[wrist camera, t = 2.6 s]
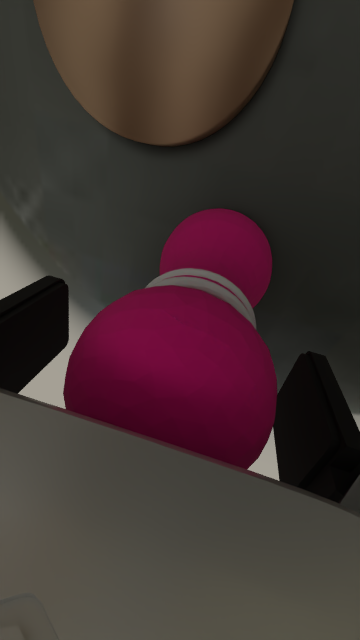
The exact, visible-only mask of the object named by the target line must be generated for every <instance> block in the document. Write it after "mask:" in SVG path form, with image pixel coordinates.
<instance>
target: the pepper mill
mask: <svg viewBox="0 0 360 640" xmlns="http://www.w3.org/2000/svg"><path fill="white" fill-rule="evenodd" d="M271 273H272V254H271V248H270V245H269V243H268V240H267V238H266V236H265V235H264V233H263V231H262V230H261V229H260V228H259V227H258V226H257V224H256V223H255V222H253V221H252V220H251V219H249V218H248V217H246V216H245V215H243V214H241V213H239V212H236V211H233V210H229V209H208V210H203V211H200V212H197V213H195V214H193V215H191V216H189V217H188V218H186V219H185V220H183V221H182V222H181V223H180V224H179V225H178V226H177V227H176V228H175V230H174V231H173V232H172V234H171V235H170V236H169V238H168V240H167V242H166V243H165V246H164V248H163V251H162V255H161V261H160V276H159V277H157V278H155V279H154V280H153V281H151V282H150V283H149V284H148V285H147V286H146V287H145V288H144V289H140V290H135V291H133V292H131V293H129V294H127V295H125V296H123V297H122V298H120V299H118V300H116V301H114V302H113V303H111V304H110V305H108V306H107V307H106V308H104V309H103V310H102V311H100V312H99V313H98V314H97V316H96V317H95V318H94V319H93V320H92V321H91V322H90V324H89V325H88V326H87V327H86V328H85V329H84V331H83V333H82V335H81V336H80V338H79V340H78V342H77V344H76V346H75V348H74V350H73V352H72V354H71V356H70V358H69V362H68V367H67V372H66V377H65V385H64V392H63V394H64V401H65V407H66V410H69V411H72V412H75V413H78V414H81V415H84V416H87V417H90V418H93V419H97V420H100V421H103V422H106V423H109V424H112V425H115V426H118V427H121V428H124V429H127V430H130V431H133V432H136V433H139V434H142V435H145V436H148V437H151V438H154V439H157V440H160V441H163V442H166V443H169V444H172V445H175V446H178V447H181V448H184V449H187V450H190V451H193V452H196V453H199V454H202V455H205V456H208V457H211V458H214V459H217V460H220V461H223V462H226V463H229V464H232V465H235V466H238V467H241V468H244V469H248V468H249V467H250V466H251V465H252V464H253V463H254V462H255V461H256V460H257V459H258V457H259V456H260V454H261V452H262V450H263V448H264V447H265V445H266V443H267V441H268V438H269V436H270V433H271V430H272V427H273V425H274V421H275V412H276V401H277V378H276V374H275V370H274V365H273V362H272V358H271V355H270V352H269V349H268V347H267V346H266V344H265V343H264V341H263V340H262V338H261V337H260V335H259V334H258V332H257V331H256V321H255V315H254V312H253V308H254V307H255V306H256V305H257V304H258V302H259V301H260V300H261V298H262V297H263V295H264V294H265V292H266V290H267V288H268V285H269V283H270V279H271Z"/></svg>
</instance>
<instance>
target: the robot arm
mask: <svg viewBox="0 0 360 640" xmlns="http://www.w3.org/2000/svg"><path fill="white" fill-rule="evenodd" d="M68 300H69V298H68V285H67V284H65V282H64V280H62V279H60V278H56V277H53V276H46V277H44V278H42V279H40V280H38V281H36V282H34V283H32V284H30V285H28V286H26V287H25V288H22V289H21V290H19V291H17V292H15V293H13V294H11V295H9V296H7V297H5V298H3V299H1V300H0V640H360V431H359V429H358V427H357V425H356V422H355V420H354V418H353V416H352V414H351V411H350V409H349V407H348V405H347V402H346V400H345V398H344V396H343V394H342V391H341V389H340V387H339V385H338V383H337V380H336V378H335V376H334V374H333V372H332V369H331V367H330V365H329V363H328V360H327V358H326V357H325V356H324V355H320V354H317V353H313V352H310V351H308V352H307V353H306V354H303V353H302V354H300V356H299V357H298V359H297V361H296V363H295V364H294V366H293V368H292V370H291V372H290V373H289V375H288V377H287V379H286V380H285V382H284V384H283V386H282V388H281V389H280V391H279V393H278V395H277V401H276V412H275V421H274V425H273V429H274V438H275V446H276V454H277V463H278V471H279V479H280V481H278V480H275V479H272V478H269V477H266V476H263V475H261V474H258V473H255V472H252V471H249V470H247V469H244V468H241V467H238V466H235V465H232V464H229V463H226V462H223V461H220V460H217V459H214V458H211V457H208V456H205V455H202V454H199V453H196V452H193V451H190V450H187V449H184V448H181V447H178V446H175V445H172V444H169V443H166V442H163V441H160V440H157V439H154V438H151V437H148V436H145V435H142V434H139V433H136V432H133V431H130V430H127V429H124V428H121V427H118V426H115V425H112V424H109V423H106V422H103V421H100V420H97V419H93V418H90V417H87V416H84V415H81V414H78V413H75V412H72V411H69V410H66V409H63V408H60V407H57V406H53V405H50V404H47V403H44V402H41V401H38V400H35V399H32V398H29V397H26V396H23V395H20V394H18V393H19V392H20V391H21V390H22V389H23V388H24V387H25V386H26V385H27V384H28V383H29V382H30V381H31V380H32V379H33V378H34V377H35V376H36V375H37V374H38V373H39V372H40V371H41V370H42V369H43V368H44V367H45V366H46V365H47V364H48V363H50V362H51V361H52V360H53V358H55V357H56V356H57V355H58V354H59V353H60V352H61V351H62V350H63V349H64V348H65V347H66V345H67V343H68V340H69V319H68V318H69V317H68V316H69V304H68V303H69V301H68Z"/></svg>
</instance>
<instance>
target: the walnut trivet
mask: <svg viewBox="0 0 360 640" xmlns="http://www.w3.org/2000/svg"><path fill="white" fill-rule="evenodd" d="M33 1H34V6H35V9H36V13H37V17H38V21H39V25H40V28H41V31H42V34H43V37H44V40H45V43H46V46H47V48H48V50H49V53H50V55H51V57H52V59H53V62H54V64H55V66H56V68H57V70H58V72H59V73H60V75H61V77H62V79H63V81H64V82H65V84H66V85H67V87H68V88H69V90H70V91H71V93H72V94H73V95H74V97H75V98H76V99H77V101H78V102H79V103H80V104H81V105H82V106H83V108H84V109H85V110H86V111H87V112H88V113H89V114H90V115H91V116H93V117H94V118H95V119H96V120H97V121H98V122H99V123H101V124H102V125H104V126H105V127H107V128H108V129H109V130H111V131H113V132H115V133H117V134H119V135H121V136H123V137H125V138H128V139H131V140H134V141H138V142H142V143H146V144H150V145H156V146H162V147H175V146H181V145H187V144H190V143H193V142H196V141H200V140H202V139H204V138H206V137H208V136H210V135H212V134H214V133H215V132H216V131H218V130H219V129H221V128H222V127H224V126H225V125H226V124H228V123H229V122H230V121H231V120H232V119H233V118H234V117H235V116H237V115H238V114H239V113H240V111H241V110H242V109H243V108H244V107H245V106H246V105H247V104H248V102H249V101H250V100H251V99H252V97H253V96H254V94H255V93H256V91H257V90H258V89H259V87H260V86H261V84H262V82H263V81H264V79H265V77H266V75H267V74H268V72H269V70H270V68H271V66H272V64H273V62H274V60H275V57H276V55H277V53H278V51H279V49H280V46H281V43H282V40H283V37H284V34H285V31H286V29H287V26H288V22H289V18H290V14H291V10H292V6H293V2H294V0H33Z"/></svg>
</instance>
